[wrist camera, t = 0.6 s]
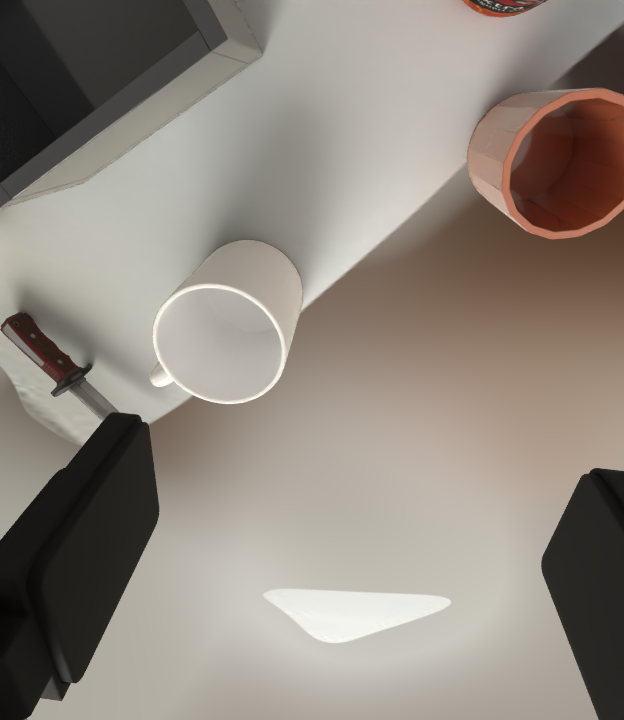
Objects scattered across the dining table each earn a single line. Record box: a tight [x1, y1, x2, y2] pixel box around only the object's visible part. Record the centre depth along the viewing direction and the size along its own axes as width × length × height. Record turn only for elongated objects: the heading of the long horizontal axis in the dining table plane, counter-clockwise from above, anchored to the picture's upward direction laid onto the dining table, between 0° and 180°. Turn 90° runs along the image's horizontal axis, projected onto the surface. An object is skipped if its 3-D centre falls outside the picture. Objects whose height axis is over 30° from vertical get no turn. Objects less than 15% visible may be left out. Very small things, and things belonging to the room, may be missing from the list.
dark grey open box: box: [0, 0, 263, 208], centre depth 25 cm, size 16×14×9 cm
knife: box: [0, 312, 120, 421], centre depth 40 cm, size 17×1×5 cm, turn 43°
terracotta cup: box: [467, 88, 624, 239], centre depth 27 cm, size 7×7×9 cm
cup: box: [150, 240, 303, 404], centre depth 33 cm, size 8×12×10 cm
